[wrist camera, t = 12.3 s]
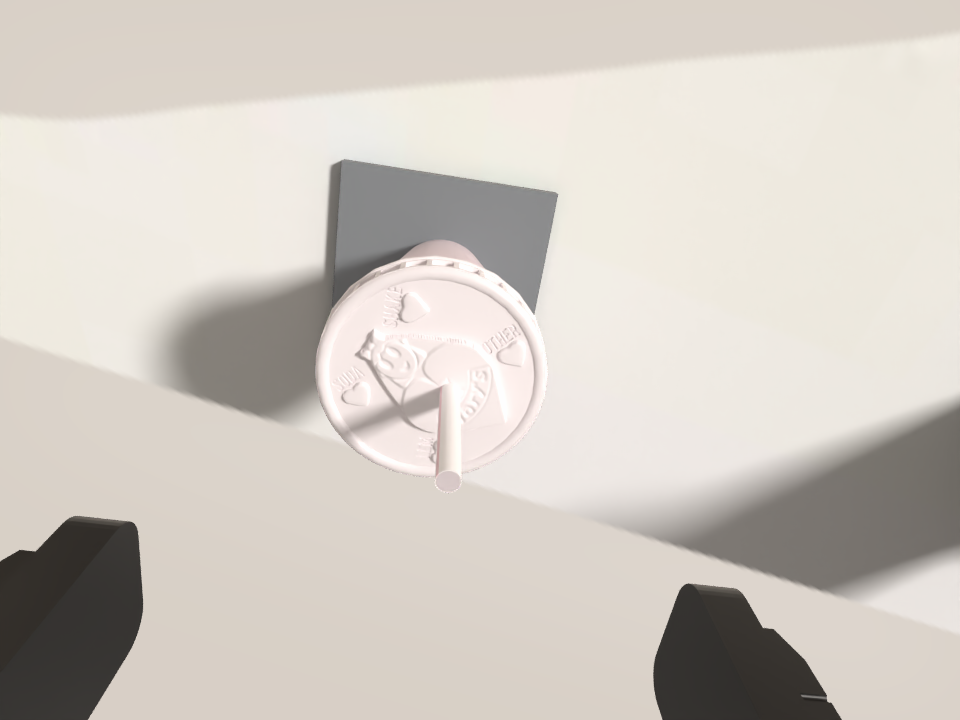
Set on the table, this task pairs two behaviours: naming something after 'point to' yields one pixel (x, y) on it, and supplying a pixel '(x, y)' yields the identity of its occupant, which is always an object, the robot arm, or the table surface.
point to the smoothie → (432, 365)
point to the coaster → (440, 223)
